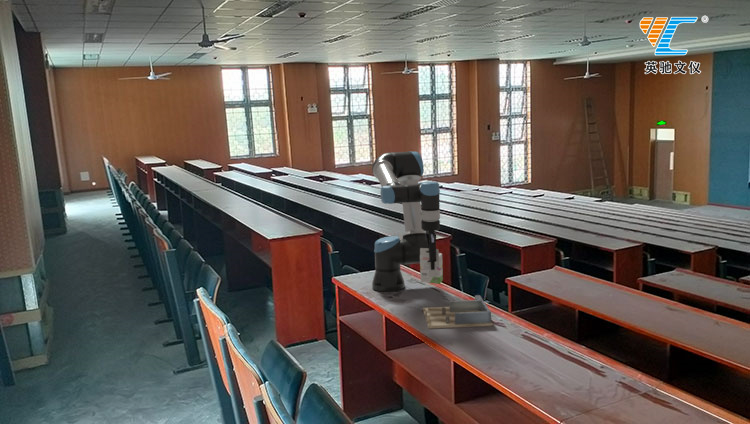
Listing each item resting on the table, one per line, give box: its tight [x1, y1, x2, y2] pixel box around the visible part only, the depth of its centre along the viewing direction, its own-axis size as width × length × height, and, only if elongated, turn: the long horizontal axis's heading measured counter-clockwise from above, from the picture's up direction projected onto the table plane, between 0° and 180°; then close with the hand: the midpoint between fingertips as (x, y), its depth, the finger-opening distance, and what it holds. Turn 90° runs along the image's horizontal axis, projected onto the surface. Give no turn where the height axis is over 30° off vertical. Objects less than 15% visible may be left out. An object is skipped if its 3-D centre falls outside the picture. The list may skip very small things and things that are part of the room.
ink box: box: [419, 248, 444, 285], centre depth 241 cm, size 9×5×15 cm, turn 67°
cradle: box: [422, 306, 493, 329], centre depth 229 cm, size 21×24×4 cm
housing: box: [448, 294, 492, 324], centre depth 229 cm, size 21×14×4 cm, turn 1°
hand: (431, 274), depth 242 cm, fingers closed on ink box, 7 cm apart
